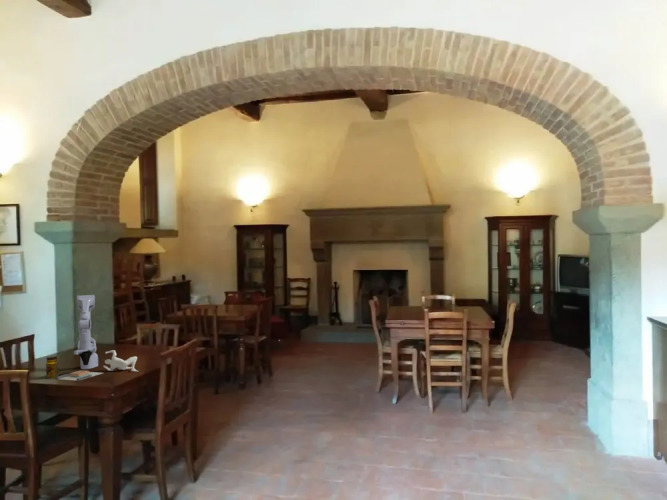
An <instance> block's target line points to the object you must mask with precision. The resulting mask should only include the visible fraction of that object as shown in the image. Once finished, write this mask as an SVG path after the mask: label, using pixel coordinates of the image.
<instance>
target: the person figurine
mask: <svg viewBox="0 0 667 500" xmlns="http://www.w3.org/2000/svg"><path fill="white" fill-rule="evenodd" d="M104 353H105V355H107V354H110V353H112V356H111V359H109V358H108V359H107V358H106V360H104V363H105V364H107V365H110V367H108V366H107V365H102V367H103V368H104V369H106V370H107V371H108V372H109V371H111V372H113V371H115V369H116V368H117V369H118V370H120V371H124V370H130V369H131V370H130V371H131V372H139V370H137V369H136V368H135V365H136V363H137V360H138V356H131V357H129V358H127V359H126V360H124V359H122V358H119V357H117V352H116V350H113V349H112V350H109V351H105V352H104ZM129 365H131V367H130V366H129Z"/></svg>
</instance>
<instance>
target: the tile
mask: <svg viewBox="0 0 667 500" xmlns="http://www.w3.org/2000/svg"><path fill="white" fill-rule="evenodd" d="M89 372H90V371H89V370H84V369H81V370H80V369H79V370H77V371H73V372H70V376H71V377H82V376H85V375H89Z"/></svg>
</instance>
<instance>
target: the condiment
mask: <svg viewBox="0 0 667 500" xmlns="http://www.w3.org/2000/svg"><path fill="white" fill-rule="evenodd" d="M59 371H60V370H59V361H58V357H57V356H56V355H53V356H47V357H46V363H45V377H46V379H48V380H49V379H51V380H52V379H56V377H58V376H60V375H59V373H60V372H59Z"/></svg>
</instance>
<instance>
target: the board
mask: <svg viewBox="0 0 667 500" xmlns="http://www.w3.org/2000/svg"><path fill="white" fill-rule="evenodd" d="M70 373H71V372H70ZM70 373H65V374H62V375H59V376H58V377H56V378H55V379H56V380H62V381H63V380H66V381H75V382H76V381H77V382H78V381H82V380H85V379H89V378H92V377H96V376H99V375H102V374H103V372H97V371H95V372H94V371H89V375H85V376H82V377H71V376H70Z"/></svg>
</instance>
